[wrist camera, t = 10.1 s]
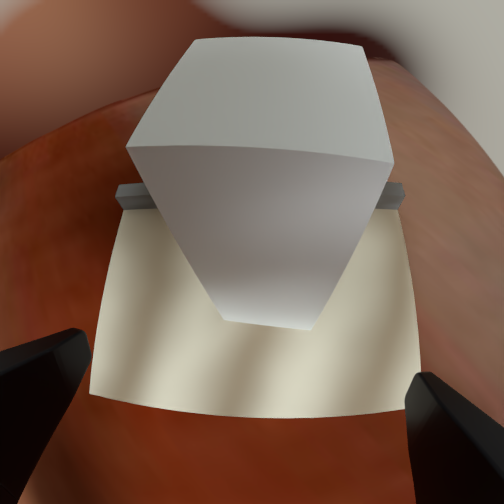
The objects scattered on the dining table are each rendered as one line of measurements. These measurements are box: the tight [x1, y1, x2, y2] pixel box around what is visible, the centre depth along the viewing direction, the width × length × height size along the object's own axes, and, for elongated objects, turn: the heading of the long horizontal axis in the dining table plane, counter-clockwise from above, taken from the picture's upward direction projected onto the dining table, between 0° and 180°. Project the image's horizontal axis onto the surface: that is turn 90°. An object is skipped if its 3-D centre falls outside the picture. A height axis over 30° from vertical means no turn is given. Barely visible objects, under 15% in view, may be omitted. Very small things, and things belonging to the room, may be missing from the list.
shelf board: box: [89, 182, 421, 418], centre depth 16 cm, size 18×13×2 cm
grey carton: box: [126, 37, 394, 330], centre depth 11 cm, size 5×4×12 cm
